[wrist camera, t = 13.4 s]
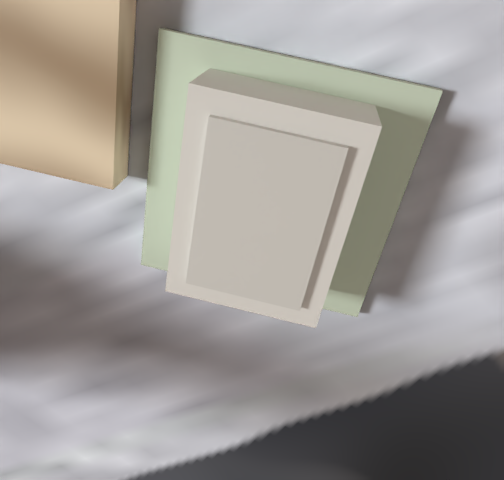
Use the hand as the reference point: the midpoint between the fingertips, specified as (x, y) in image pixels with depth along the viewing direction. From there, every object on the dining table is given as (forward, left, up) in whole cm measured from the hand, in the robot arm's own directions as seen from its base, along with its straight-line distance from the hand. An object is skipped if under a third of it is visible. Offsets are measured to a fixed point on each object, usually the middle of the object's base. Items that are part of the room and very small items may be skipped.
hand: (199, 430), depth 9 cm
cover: (0, 0, -12) cm, 12 cm away
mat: (0, 0, -12) cm, 12 cm away
